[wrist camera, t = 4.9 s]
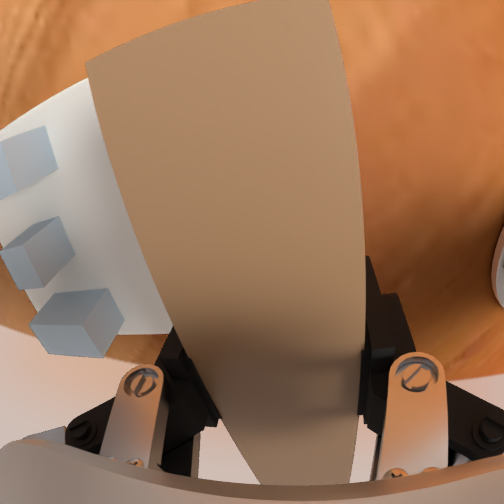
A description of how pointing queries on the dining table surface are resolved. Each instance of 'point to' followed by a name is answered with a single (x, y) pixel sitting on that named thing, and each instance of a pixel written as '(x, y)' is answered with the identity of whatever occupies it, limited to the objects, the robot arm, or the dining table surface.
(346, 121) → the long tan plank
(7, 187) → the stand
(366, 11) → the dining table surface
